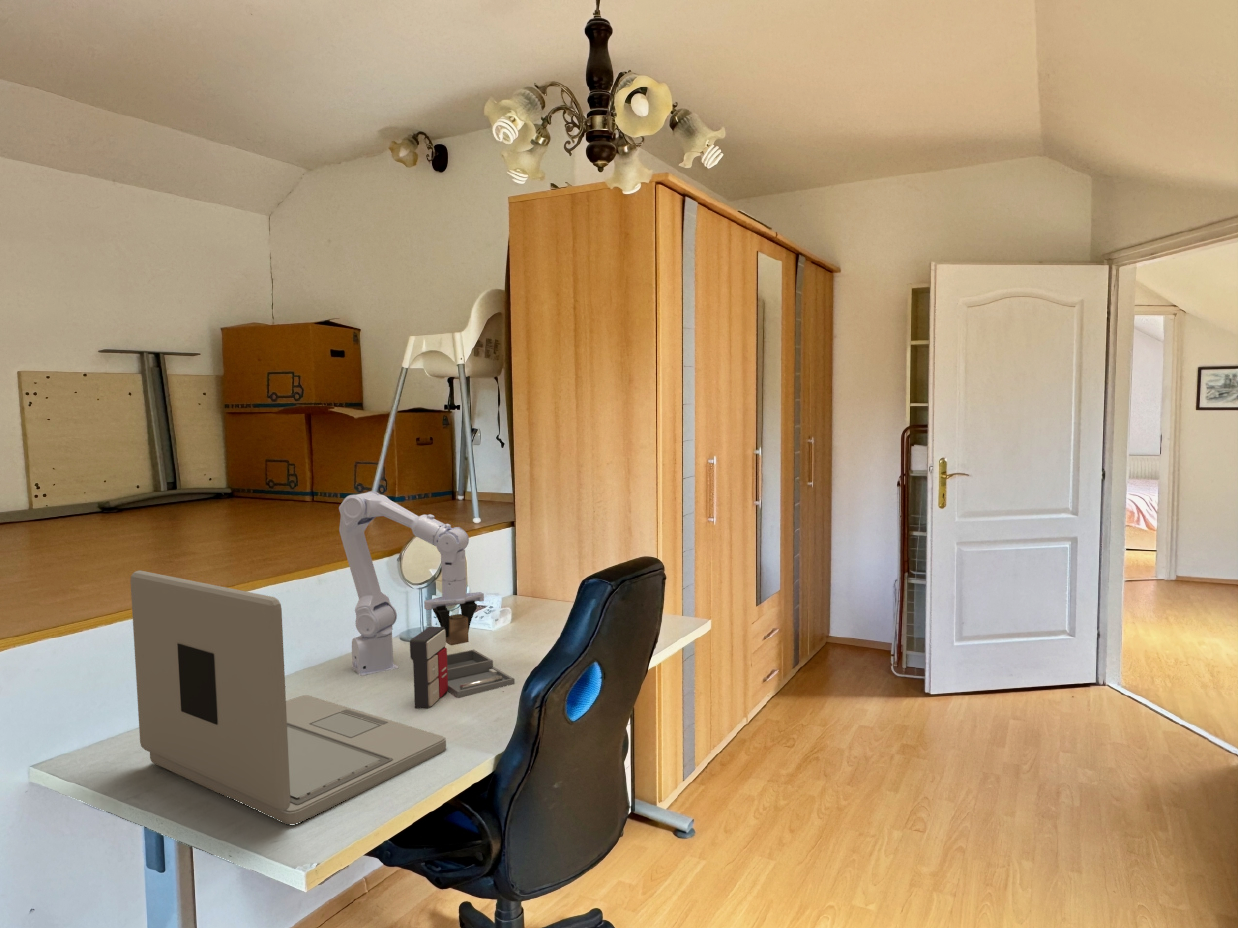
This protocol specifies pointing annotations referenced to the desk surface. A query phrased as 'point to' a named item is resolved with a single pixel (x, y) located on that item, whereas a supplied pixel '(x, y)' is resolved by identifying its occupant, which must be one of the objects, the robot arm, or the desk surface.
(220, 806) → the desk surface
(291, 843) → the desk surface
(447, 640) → the module block
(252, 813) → the desk surface
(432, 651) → the drawer chest
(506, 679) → the case lid open
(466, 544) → the robot arm
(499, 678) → the rod
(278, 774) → the laptop
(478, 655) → the case
